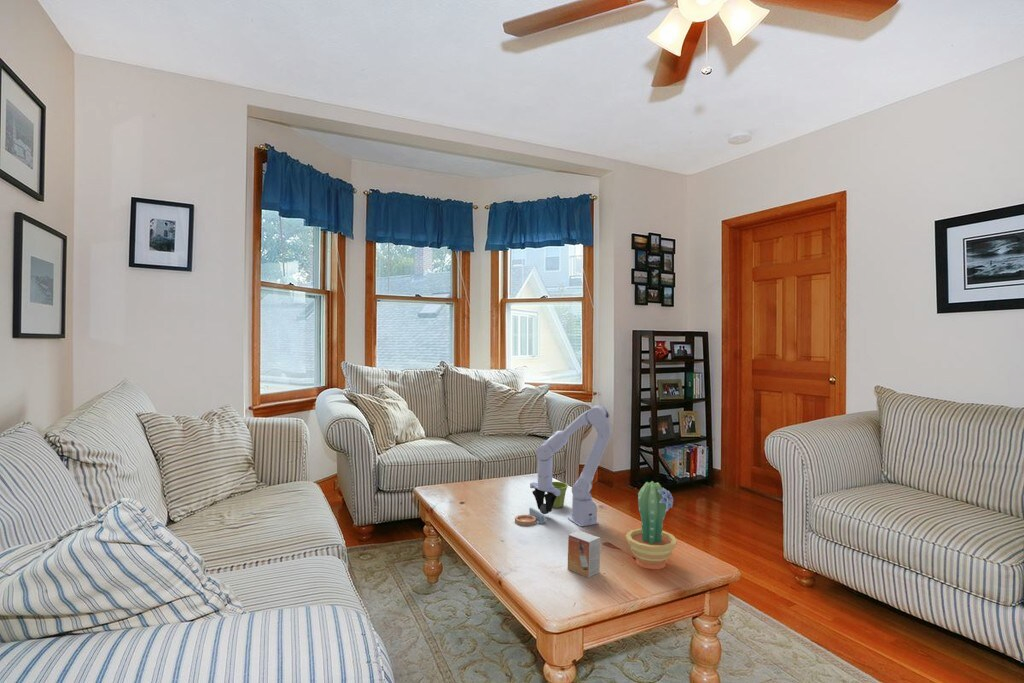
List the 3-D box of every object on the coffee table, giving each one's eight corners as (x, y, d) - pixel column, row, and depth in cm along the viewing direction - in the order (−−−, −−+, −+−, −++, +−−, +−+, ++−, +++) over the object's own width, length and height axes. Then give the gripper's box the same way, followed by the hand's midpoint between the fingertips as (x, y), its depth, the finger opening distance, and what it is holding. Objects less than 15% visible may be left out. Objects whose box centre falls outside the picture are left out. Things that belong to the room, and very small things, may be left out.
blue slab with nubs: (546, 523, 197) (546, 515, 197) (540, 524, 196) (540, 516, 196) (533, 515, 206) (533, 507, 206) (527, 515, 205) (527, 508, 205)
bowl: (539, 523, 197) (539, 520, 197) (521, 526, 193) (521, 523, 193) (529, 517, 204) (529, 513, 204) (512, 520, 200) (512, 516, 200)
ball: (551, 514, 204) (551, 504, 204) (542, 516, 202) (542, 505, 202) (546, 511, 208) (546, 501, 207) (537, 513, 206) (537, 502, 206)
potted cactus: (641, 576, 154) (642, 491, 154) (616, 555, 169) (617, 477, 169) (687, 570, 159) (688, 487, 158) (659, 550, 174) (660, 474, 173)
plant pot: (568, 509, 213) (568, 488, 213) (545, 509, 213) (545, 487, 213) (566, 502, 222) (566, 481, 222) (544, 502, 222) (544, 481, 222)
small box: (567, 569, 159) (567, 534, 159) (578, 563, 163) (579, 529, 163) (588, 578, 153) (589, 542, 153) (600, 572, 157) (600, 537, 157)
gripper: (566, 477, 202) (565, 512, 202) (539, 469, 213) (538, 503, 213) (553, 480, 197) (553, 516, 197) (526, 472, 208) (526, 507, 208)
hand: (544, 510), depth 205 cm, fingers closed on ball, 4 cm apart
